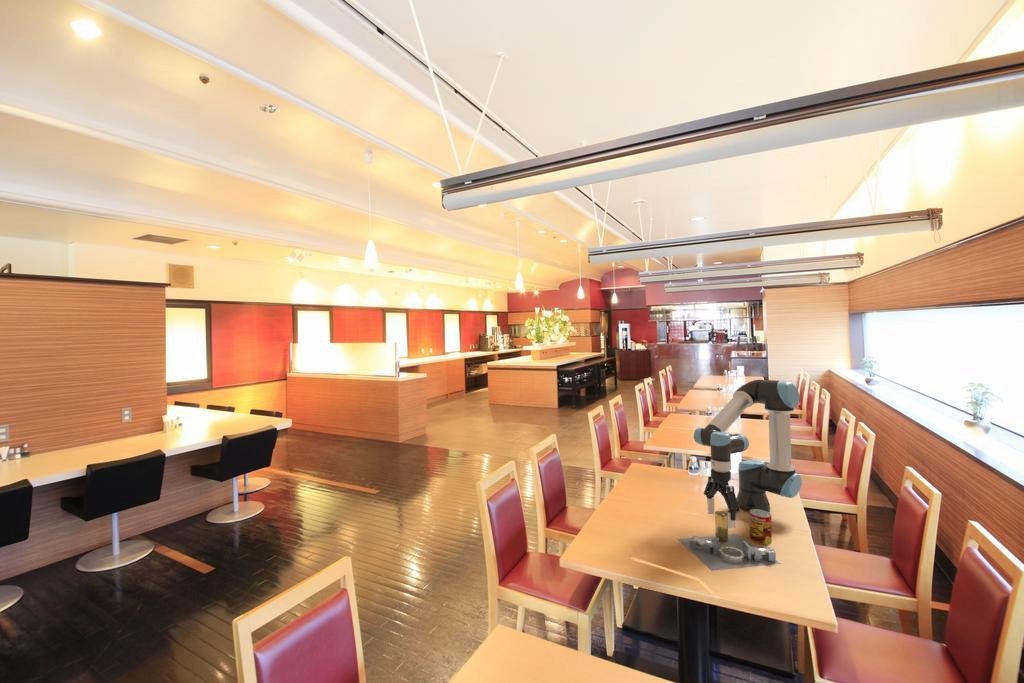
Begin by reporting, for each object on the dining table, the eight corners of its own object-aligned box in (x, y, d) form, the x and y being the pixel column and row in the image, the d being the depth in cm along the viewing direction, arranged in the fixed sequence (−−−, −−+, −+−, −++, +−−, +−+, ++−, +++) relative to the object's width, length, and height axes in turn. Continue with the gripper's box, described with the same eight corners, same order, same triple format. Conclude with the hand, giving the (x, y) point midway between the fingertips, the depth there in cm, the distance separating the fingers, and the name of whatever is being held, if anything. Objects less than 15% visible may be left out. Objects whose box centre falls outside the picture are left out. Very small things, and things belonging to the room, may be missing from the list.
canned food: (745, 539, 176) (745, 511, 176) (758, 535, 179) (757, 507, 179) (763, 547, 168) (762, 518, 168) (776, 543, 172) (775, 514, 171)
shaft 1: (719, 551, 165) (719, 537, 165) (716, 556, 161) (716, 542, 161) (692, 543, 171) (692, 530, 171) (689, 548, 167) (689, 535, 167)
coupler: (723, 536, 177) (722, 510, 177) (730, 541, 172) (730, 515, 172) (712, 537, 176) (712, 511, 176) (720, 542, 171) (719, 516, 171)
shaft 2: (748, 561, 157) (748, 547, 157) (742, 554, 162) (742, 541, 162) (776, 562, 156) (776, 548, 156) (770, 556, 160) (770, 542, 160)
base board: (738, 535, 179) (737, 533, 179) (781, 565, 155) (781, 563, 155) (677, 541, 175) (677, 539, 175) (711, 572, 151) (711, 570, 151)
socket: (734, 550, 165) (734, 545, 165) (749, 562, 156) (749, 556, 156) (715, 552, 164) (715, 547, 164) (729, 564, 155) (728, 558, 155)
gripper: (695, 461, 186) (695, 508, 186) (731, 479, 161) (732, 534, 161) (710, 460, 187) (711, 507, 187) (749, 478, 162) (749, 533, 162)
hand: (720, 520), depth 174 cm, fingers open, 13 cm apart
